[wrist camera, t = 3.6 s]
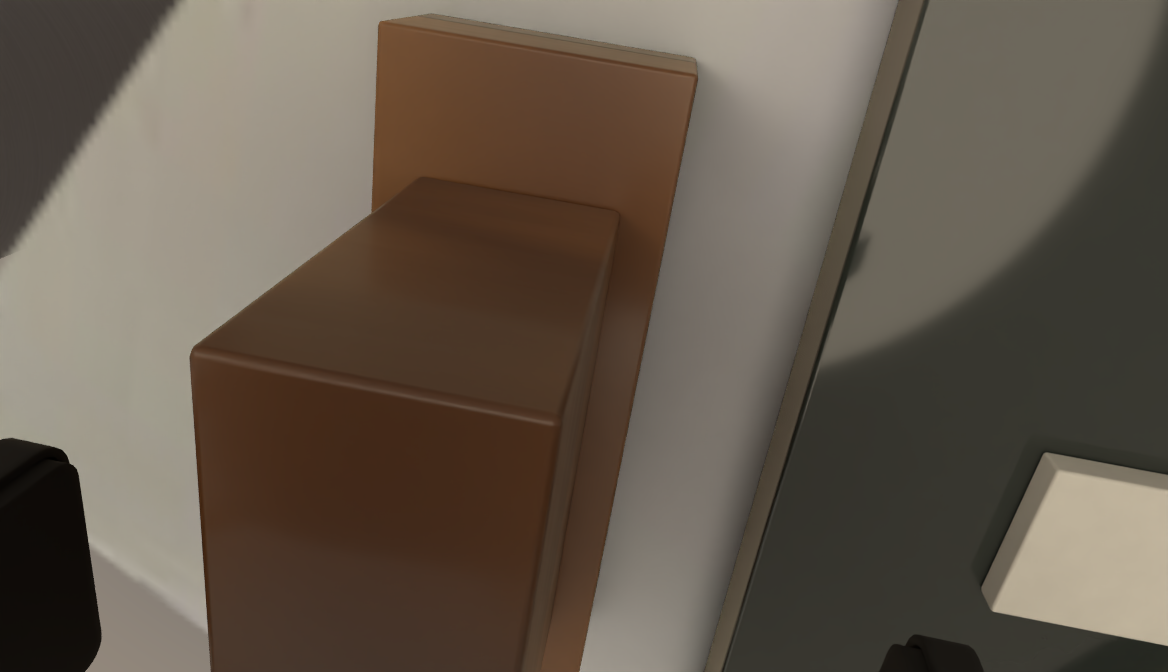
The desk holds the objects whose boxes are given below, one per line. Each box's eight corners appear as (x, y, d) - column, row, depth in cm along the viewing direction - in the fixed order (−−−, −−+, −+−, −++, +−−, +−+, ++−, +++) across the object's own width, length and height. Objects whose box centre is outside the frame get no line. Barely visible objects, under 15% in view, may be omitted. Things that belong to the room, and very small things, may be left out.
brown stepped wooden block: (394, 580, 18) (180, 1021, 10) (429, 12, 13) (64, 64, 5) (586, 619, 18) (511, 1096, 10) (697, 58, 13) (711, 177, 5)
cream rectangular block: (978, 588, 15) (990, 612, 14) (1043, 450, 13) (1057, 470, 13) (1203, 632, 14) (1223, 658, 14) (1291, 497, 13) (1317, 518, 13)
